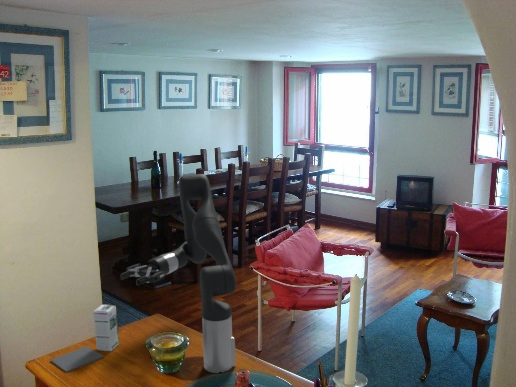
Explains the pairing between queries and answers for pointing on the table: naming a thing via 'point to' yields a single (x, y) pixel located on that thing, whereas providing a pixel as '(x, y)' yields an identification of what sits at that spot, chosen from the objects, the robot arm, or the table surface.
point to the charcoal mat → (76, 359)
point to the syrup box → (106, 327)
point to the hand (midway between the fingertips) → (128, 280)
